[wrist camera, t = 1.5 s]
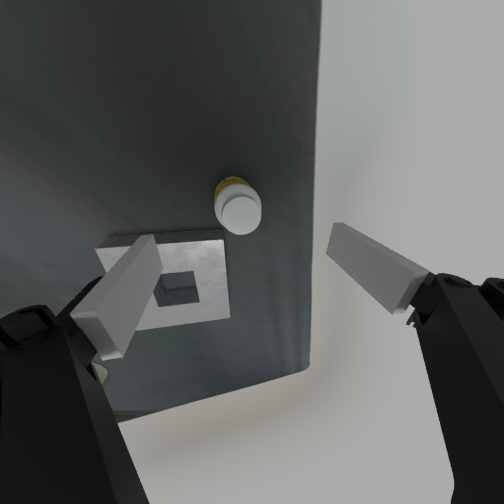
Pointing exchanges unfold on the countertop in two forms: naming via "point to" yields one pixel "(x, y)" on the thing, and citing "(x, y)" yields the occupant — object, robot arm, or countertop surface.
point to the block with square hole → (180, 260)
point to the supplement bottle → (237, 206)
